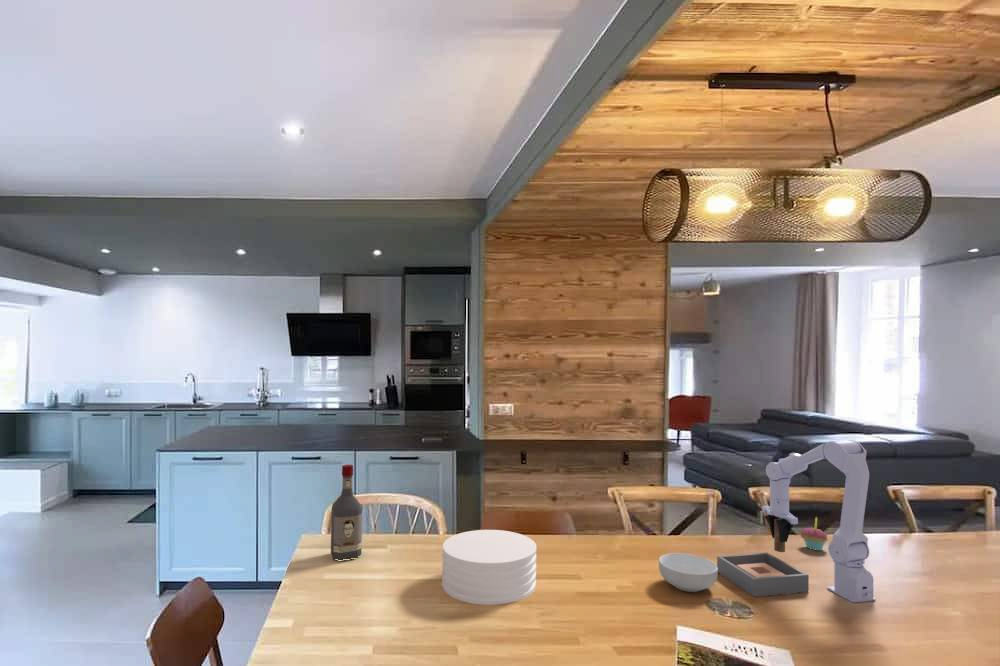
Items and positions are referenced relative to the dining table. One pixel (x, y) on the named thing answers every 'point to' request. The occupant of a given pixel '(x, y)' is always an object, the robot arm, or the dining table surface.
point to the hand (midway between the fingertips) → (779, 539)
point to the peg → (778, 539)
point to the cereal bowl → (688, 571)
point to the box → (762, 574)
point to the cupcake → (814, 537)
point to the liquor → (346, 521)
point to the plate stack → (489, 567)
